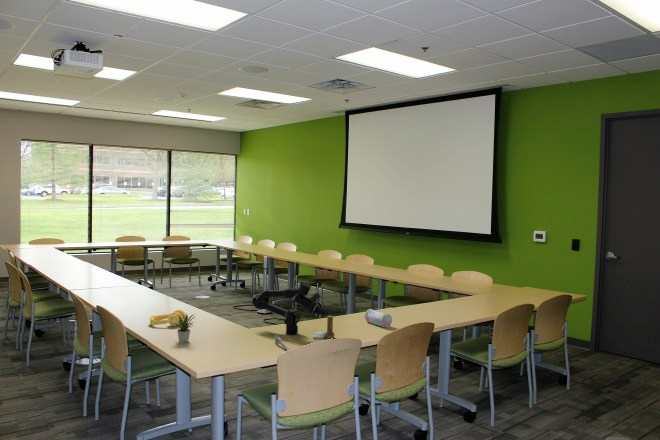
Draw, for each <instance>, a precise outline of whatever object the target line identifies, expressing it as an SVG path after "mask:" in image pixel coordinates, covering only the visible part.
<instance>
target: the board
mask: <svg viewBox="0 0 660 440" xmlns="http://www.w3.org/2000/svg"><path fill="white" fill-rule="evenodd" d="M325 334H326V331H315V332H314V334H313V337H312V338H313V339H312V340H324V339H325Z"/></svg>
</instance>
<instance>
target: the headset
mask: <svg viewBox="0 0 660 440" xmlns="http://www.w3.org/2000/svg"><path fill="white" fill-rule="evenodd" d="M182 314H183V315H184V318H185V317H186V312H184V310H181V309H175V310H174V311H173V312H172V313H169V314H158V315H151V316H150V317H149V325H150V326H158V325H165V324H169V325H170V326H172V327H175V326H177V327H179V326H178V325H176V324H179V317H178V315H179V316H180V317H181V318H182V321H184V319H183V315H182ZM173 317H174V318H173ZM177 320H178V321H177ZM174 323H176V324H174ZM179 325H180V324H179Z"/></svg>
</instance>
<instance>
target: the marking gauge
mask: <svg viewBox="0 0 660 440" xmlns="http://www.w3.org/2000/svg"><path fill="white" fill-rule="evenodd" d="M326 318H327V322H326V324H327V325H326V326H327V327H326V328H327V329H326V330H327V331H325V336H324V339H325V340H332V339H331V338H334V339H335V331H334V329H333V328H334V325H333V323H334V322H333V321H334V315H327V317H326ZM333 331H334V332H333Z"/></svg>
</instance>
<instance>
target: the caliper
mask: <svg viewBox="0 0 660 440" xmlns="http://www.w3.org/2000/svg"><path fill="white" fill-rule="evenodd" d="M274 344H275V345H281V347H282V348H283V349H284V350H285V351H286V352H287V350H290V349H289V347H288V346H287V345H286V344H285V343H284V342H283V340H282V339H281V338H280V336H279V334H278V333H275V335H274Z"/></svg>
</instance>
